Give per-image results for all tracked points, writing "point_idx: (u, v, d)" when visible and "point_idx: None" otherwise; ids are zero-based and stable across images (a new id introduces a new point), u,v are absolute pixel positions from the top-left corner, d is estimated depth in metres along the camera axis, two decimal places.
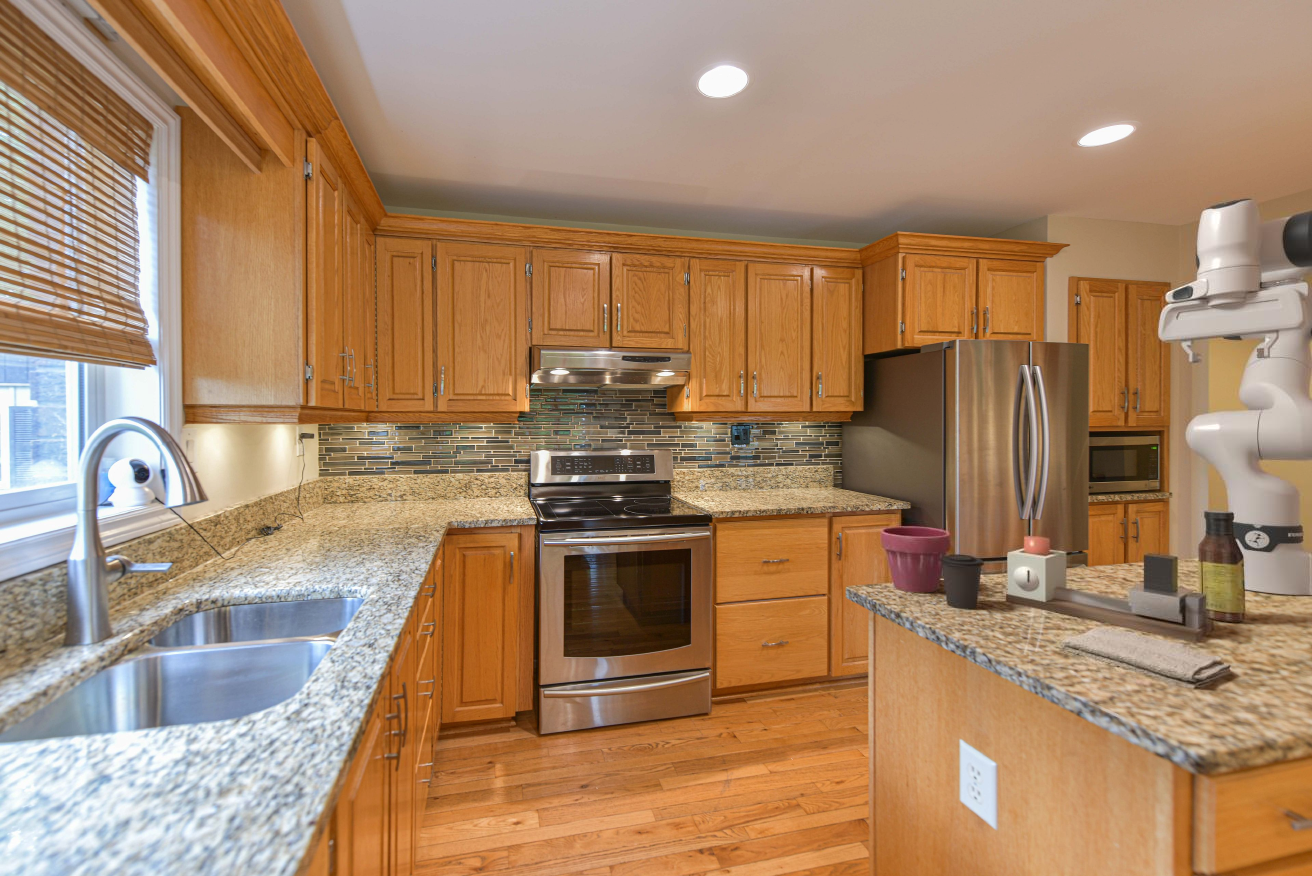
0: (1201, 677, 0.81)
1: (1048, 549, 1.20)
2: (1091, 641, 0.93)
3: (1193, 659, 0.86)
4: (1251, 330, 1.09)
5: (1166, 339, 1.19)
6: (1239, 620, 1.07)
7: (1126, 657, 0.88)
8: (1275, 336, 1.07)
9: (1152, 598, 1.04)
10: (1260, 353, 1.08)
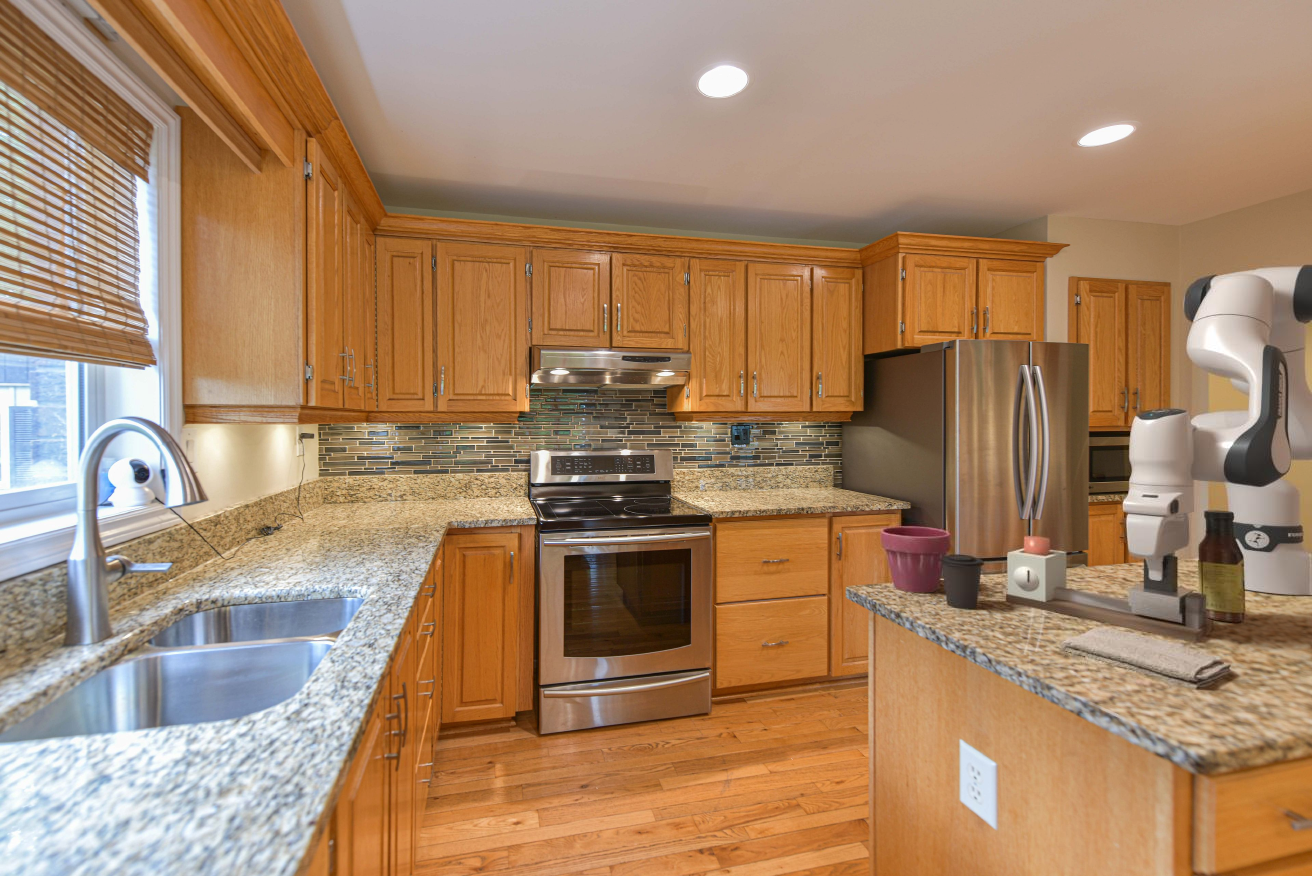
0: (1203, 677, 0.81)
1: (1048, 549, 1.20)
2: (1091, 641, 0.93)
3: (1194, 659, 0.86)
4: (1179, 548, 1.07)
5: (1157, 557, 0.99)
6: (1239, 620, 1.07)
7: (1127, 658, 0.88)
8: (1174, 555, 1.07)
9: (1152, 598, 1.04)
10: None
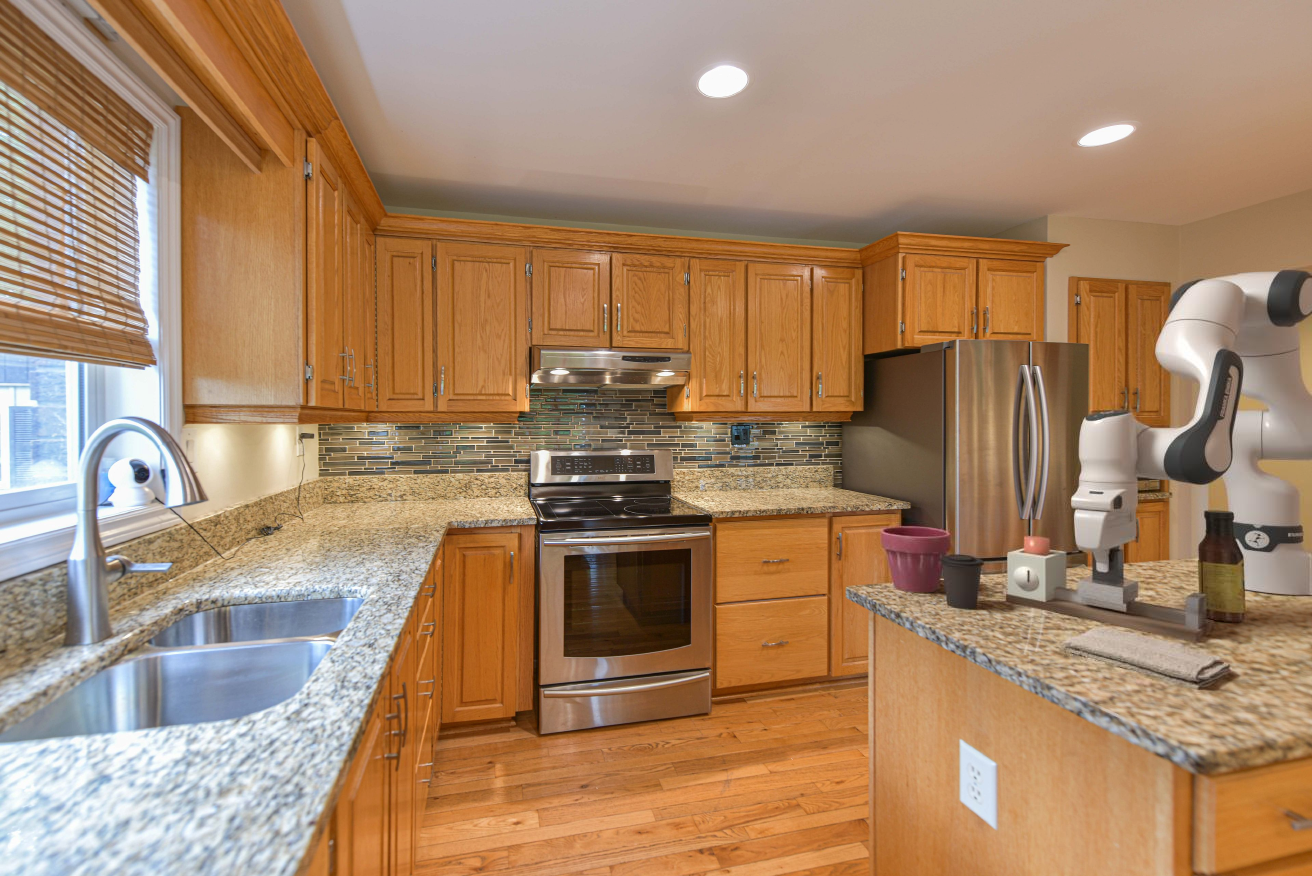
0: (1205, 677, 0.81)
1: (1048, 549, 1.20)
2: (1092, 641, 0.93)
3: (1194, 659, 0.86)
4: (1125, 542, 1.13)
5: (1101, 550, 1.06)
6: (1239, 620, 1.07)
7: (1129, 658, 0.87)
8: (1121, 548, 1.14)
9: (1098, 589, 1.10)
10: None
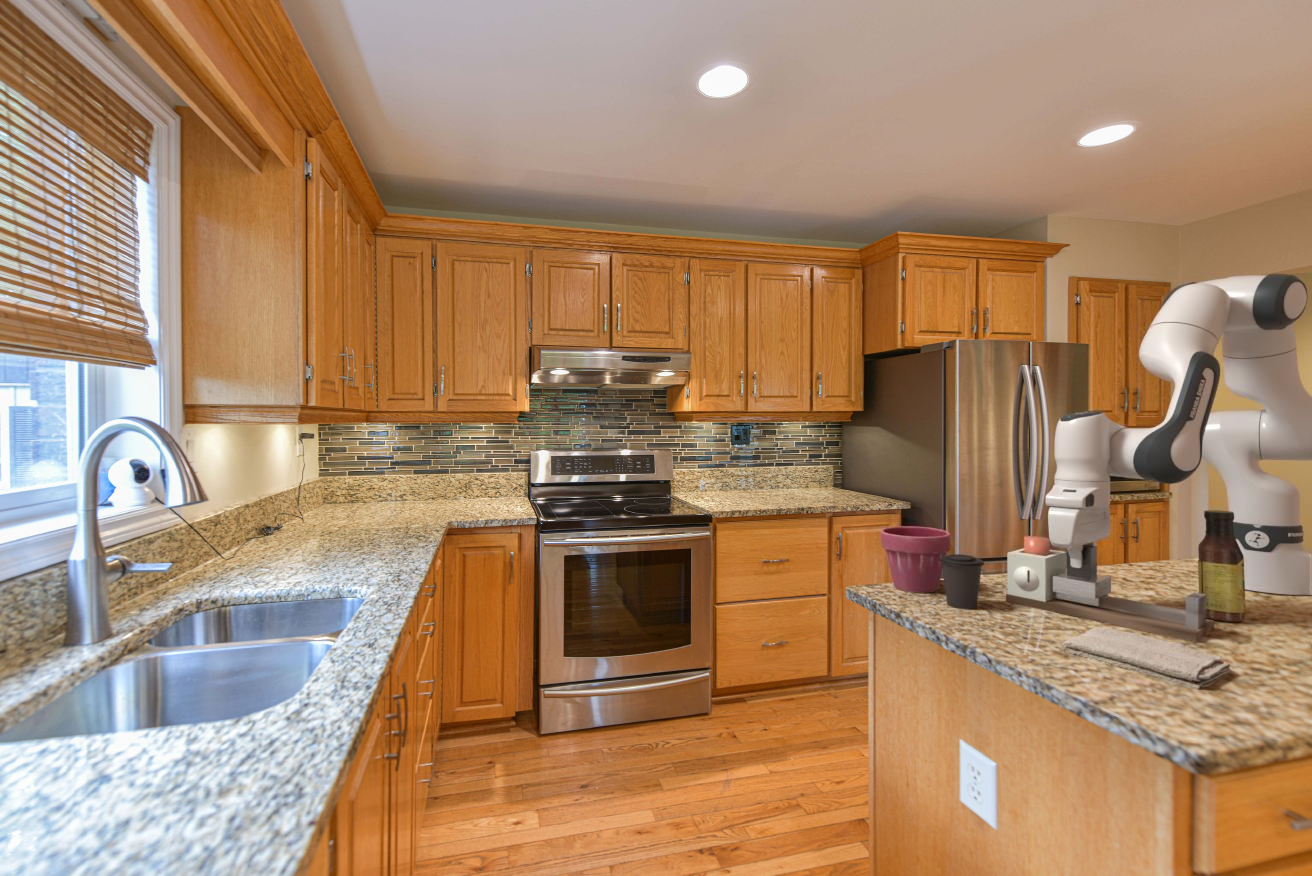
0: (1205, 677, 0.81)
1: (1048, 549, 1.20)
2: (1092, 641, 0.93)
3: (1194, 658, 0.86)
4: (1098, 538, 1.16)
5: (1074, 546, 1.09)
6: (1239, 620, 1.07)
7: (1129, 658, 0.87)
8: (1095, 545, 1.17)
9: (1072, 584, 1.14)
10: None
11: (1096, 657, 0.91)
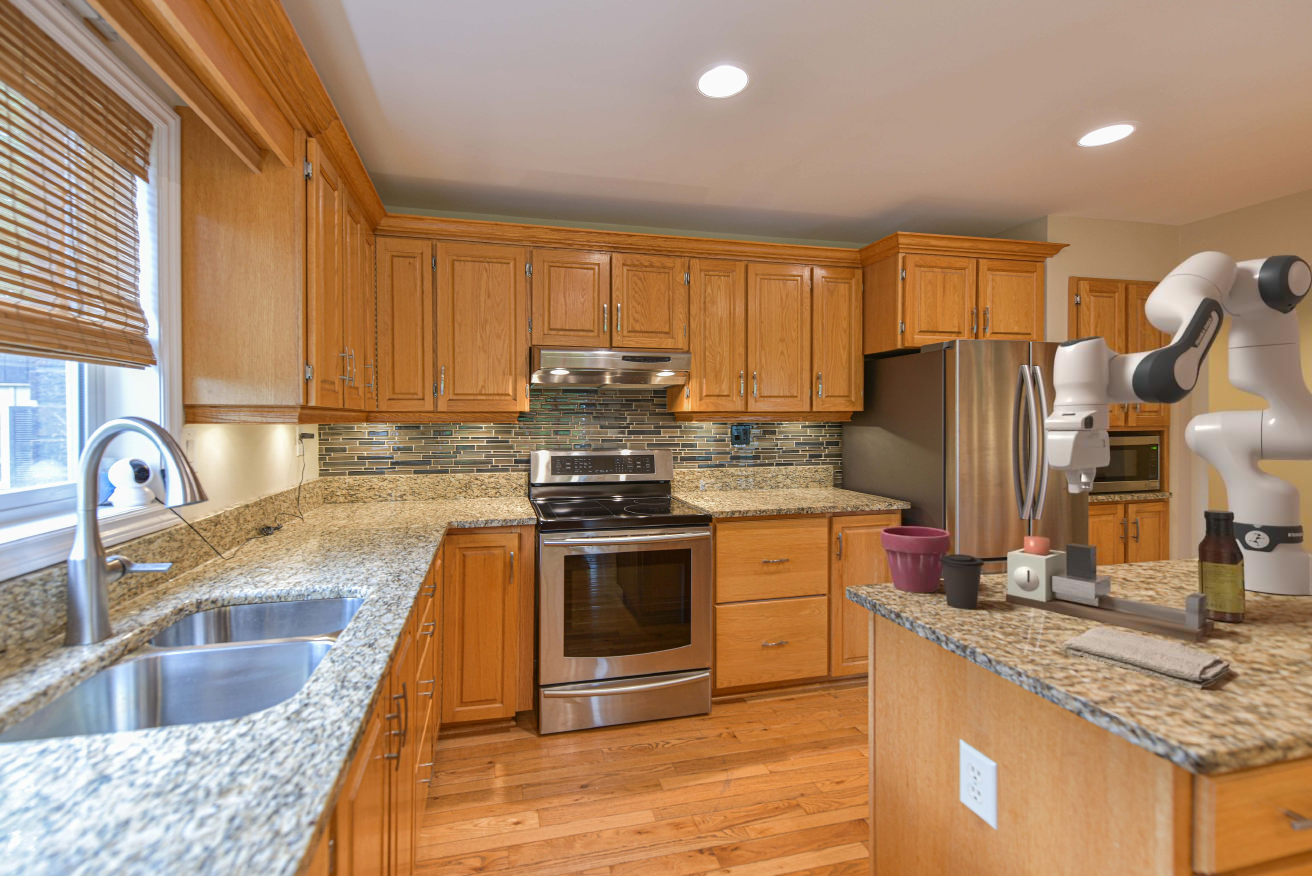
0: (1207, 677, 0.81)
1: (1048, 549, 1.20)
2: (1092, 642, 0.93)
3: (1194, 658, 0.86)
4: (1098, 465, 1.16)
5: (1072, 468, 1.09)
6: (1239, 620, 1.07)
7: (1130, 658, 0.87)
8: (1095, 472, 1.17)
9: (1072, 584, 1.14)
10: (1090, 487, 1.17)
11: (1097, 657, 0.91)
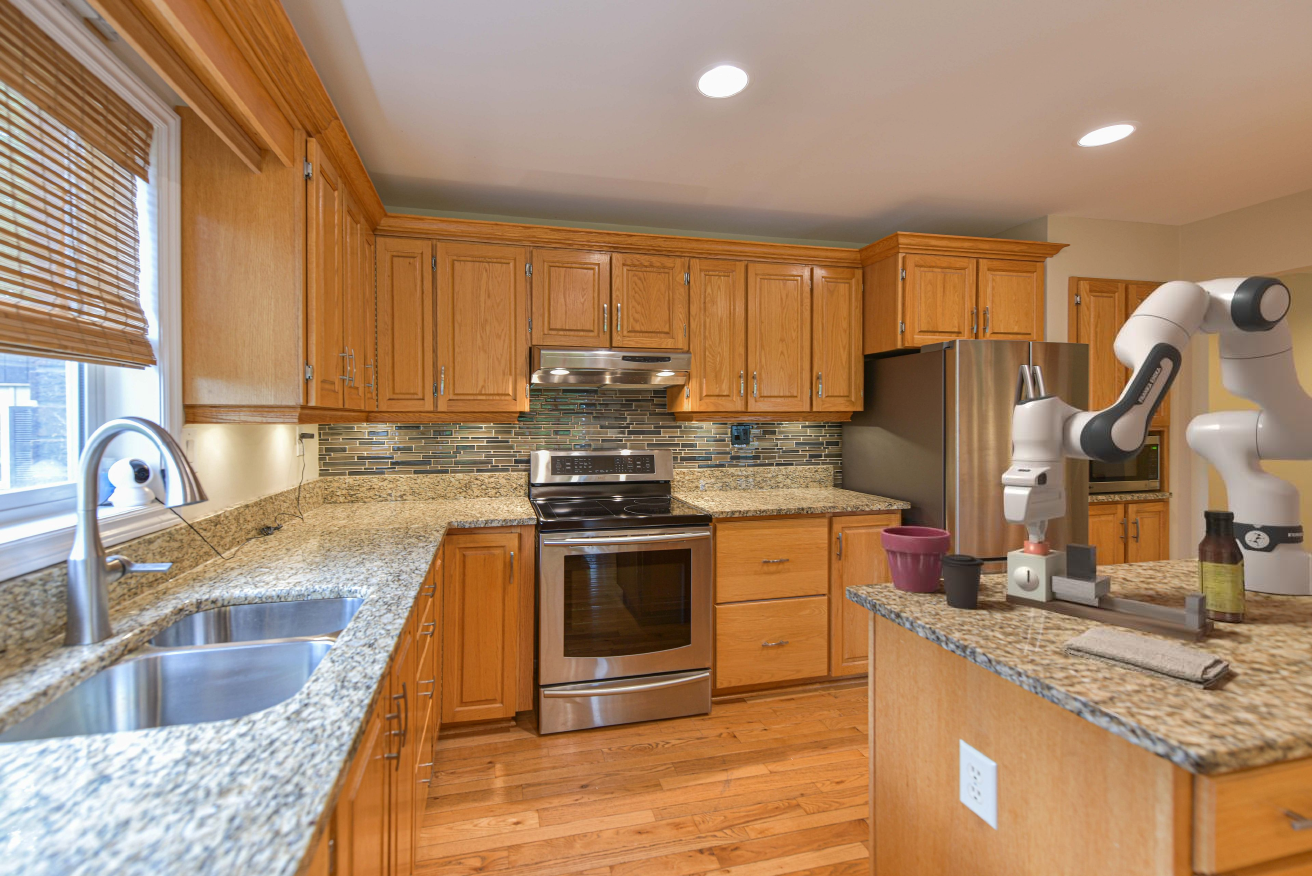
0: (1209, 677, 0.81)
1: (1048, 553, 1.20)
2: (1093, 642, 0.93)
3: (1195, 658, 0.86)
4: (1053, 517, 1.23)
5: (1027, 522, 1.16)
6: (1239, 620, 1.07)
7: (1132, 659, 0.87)
8: (1047, 524, 1.23)
9: (1072, 584, 1.14)
10: (1041, 538, 1.22)
11: (1098, 658, 0.91)
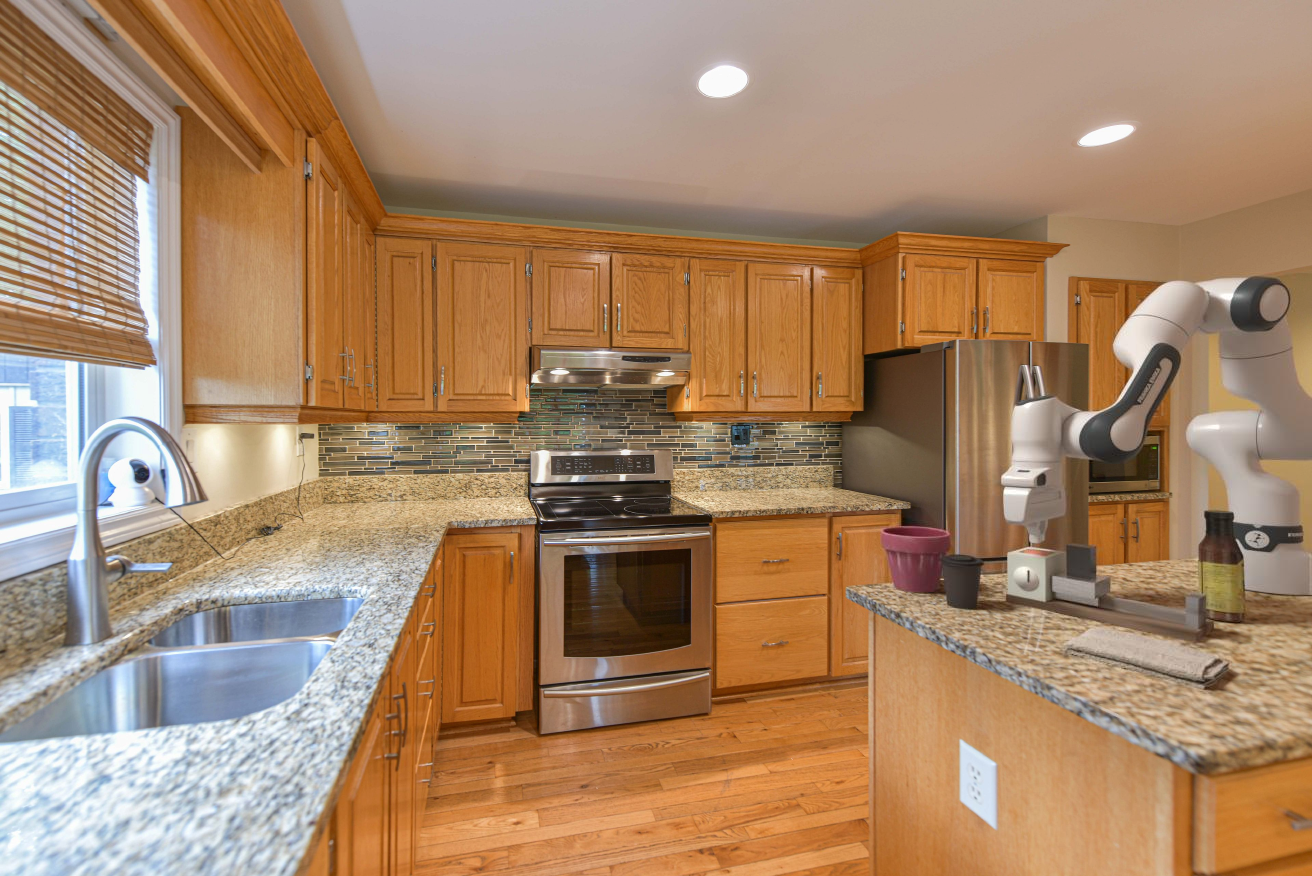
0: (1210, 677, 0.81)
1: None
2: (1093, 642, 0.93)
3: (1195, 658, 0.86)
4: (1053, 516, 1.23)
5: (1026, 523, 1.16)
6: (1239, 620, 1.07)
7: (1133, 659, 0.87)
8: (1047, 523, 1.23)
9: (1072, 584, 1.14)
10: (1042, 538, 1.22)
11: (1099, 658, 0.91)
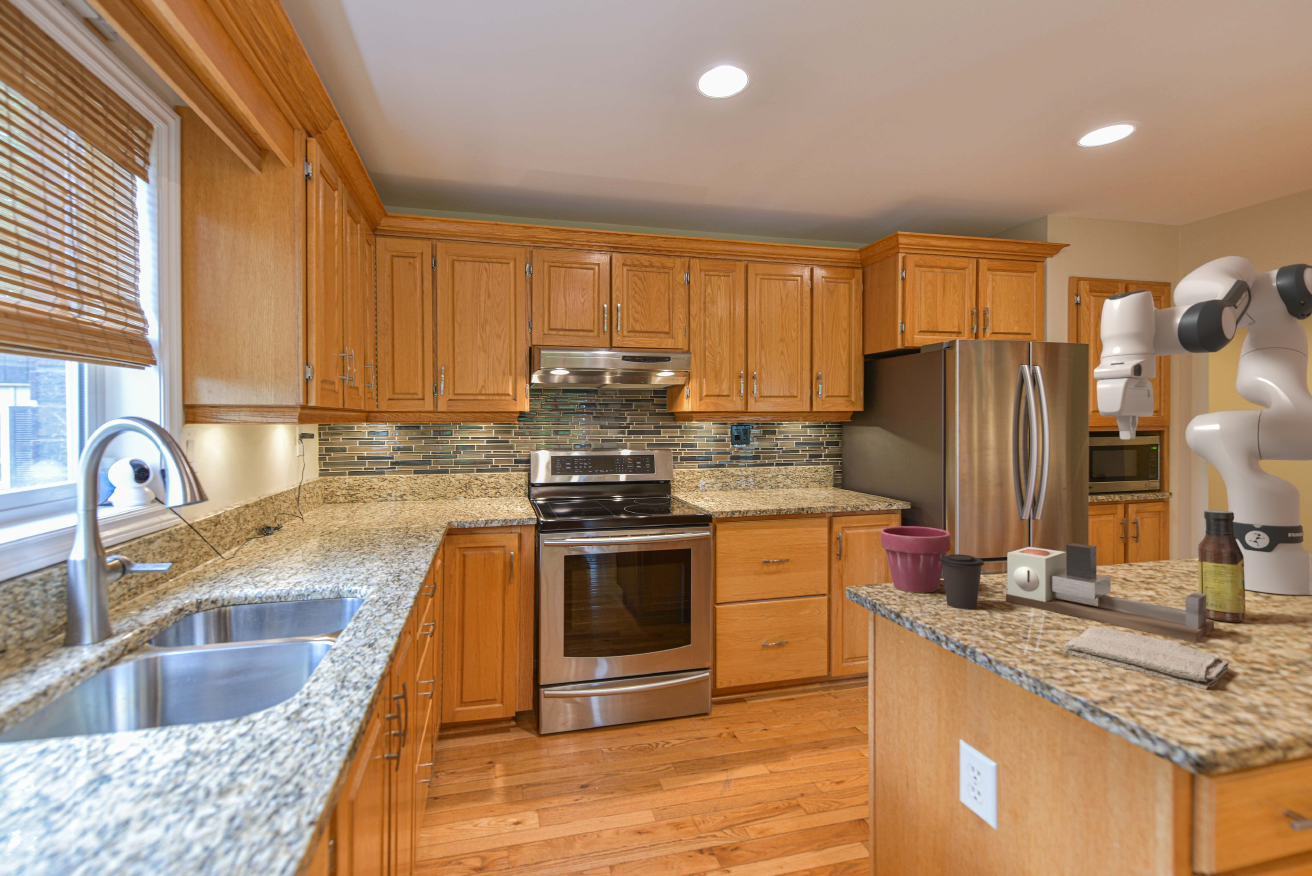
0: (1212, 677, 0.81)
1: None
2: (1094, 643, 0.92)
3: (1195, 658, 0.87)
4: (1143, 414, 1.22)
5: (1122, 414, 1.14)
6: (1239, 620, 1.07)
7: (1134, 659, 0.87)
8: (1137, 421, 1.22)
9: (1072, 584, 1.14)
10: (1132, 435, 1.21)
11: (1100, 659, 0.90)
